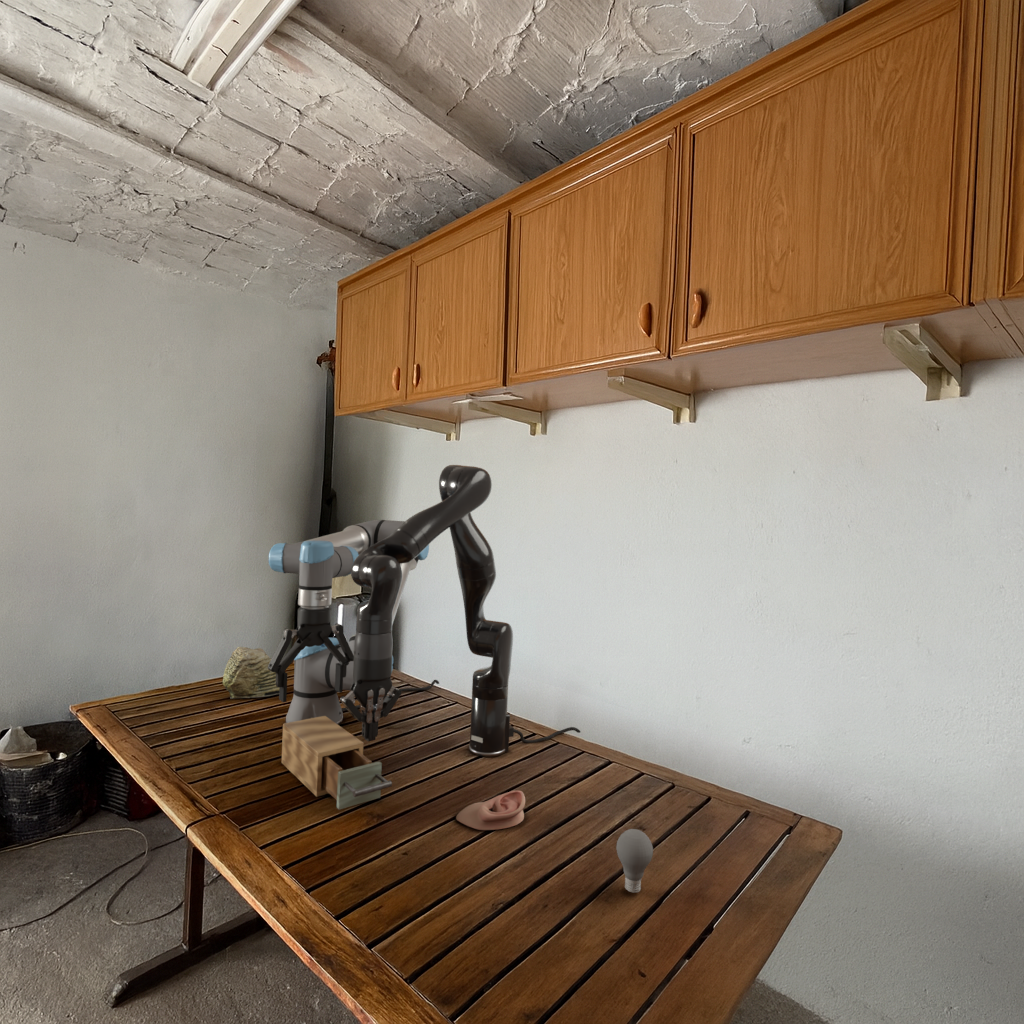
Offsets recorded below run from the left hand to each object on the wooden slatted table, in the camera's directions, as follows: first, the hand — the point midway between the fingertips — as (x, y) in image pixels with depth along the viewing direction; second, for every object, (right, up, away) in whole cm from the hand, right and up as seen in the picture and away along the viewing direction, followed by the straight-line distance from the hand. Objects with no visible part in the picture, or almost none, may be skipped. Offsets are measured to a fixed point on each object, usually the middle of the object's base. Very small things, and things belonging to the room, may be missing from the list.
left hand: (311, 695), depth 150 cm
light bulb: (+68, -20, -44) cm, 83 cm away
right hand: (+19, -2, -23) cm, 30 cm away
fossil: (-33, -14, +48) cm, 60 cm away
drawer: (+12, -16, -15) cm, 25 cm away
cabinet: (+4, -16, -5) cm, 17 cm away
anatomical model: (+43, -18, -22) cm, 52 cm away
